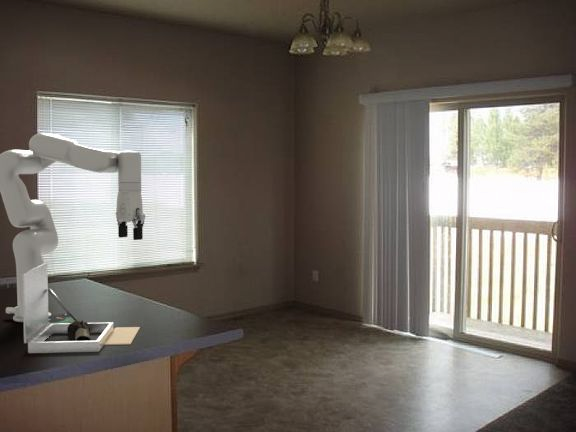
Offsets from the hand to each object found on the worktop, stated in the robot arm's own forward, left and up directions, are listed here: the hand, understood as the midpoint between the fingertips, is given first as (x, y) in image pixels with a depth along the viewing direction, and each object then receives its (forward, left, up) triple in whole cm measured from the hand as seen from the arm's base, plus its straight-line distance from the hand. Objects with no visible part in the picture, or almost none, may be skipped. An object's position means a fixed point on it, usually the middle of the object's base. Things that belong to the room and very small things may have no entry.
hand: (130, 238), depth 212 cm
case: (-15, -20, -30) cm, 39 cm away
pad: (-1, -15, -30) cm, 33 cm away
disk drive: (-25, +2, -31) cm, 39 cm away
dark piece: (-13, -20, -30) cm, 38 cm away
